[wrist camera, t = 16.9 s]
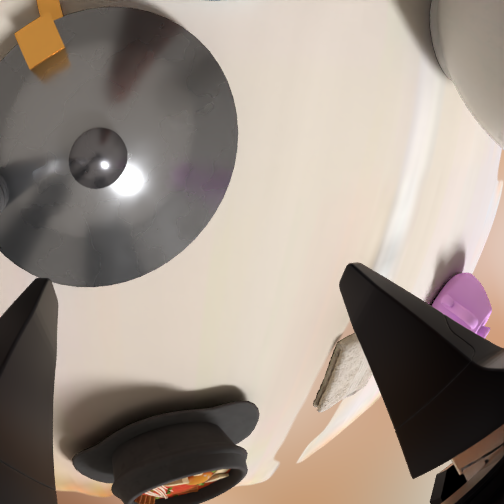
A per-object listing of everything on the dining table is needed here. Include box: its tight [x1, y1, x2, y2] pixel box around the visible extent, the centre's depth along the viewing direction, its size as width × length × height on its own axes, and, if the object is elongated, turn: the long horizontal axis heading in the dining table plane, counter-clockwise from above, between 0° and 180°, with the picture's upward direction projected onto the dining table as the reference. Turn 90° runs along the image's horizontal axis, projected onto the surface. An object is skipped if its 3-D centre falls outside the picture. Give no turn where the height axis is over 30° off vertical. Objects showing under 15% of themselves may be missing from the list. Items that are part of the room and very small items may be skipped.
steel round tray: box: [0, 7, 238, 287], centre depth 12 cm, size 16×16×7 cm
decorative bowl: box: [430, 0, 504, 150], centre depth 19 cm, size 27×27×12 cm
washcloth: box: [313, 333, 373, 412], centre depth 45 cm, size 12×18×3 cm, turn 178°
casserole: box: [72, 401, 259, 504], centre depth 29 cm, size 25×19×8 cm
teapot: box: [432, 273, 492, 339], centre depth 52 cm, size 22×22×14 cm
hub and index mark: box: [36, 0, 128, 189], centre depth 11 cm, size 4×12×3 cm, turn 5°
